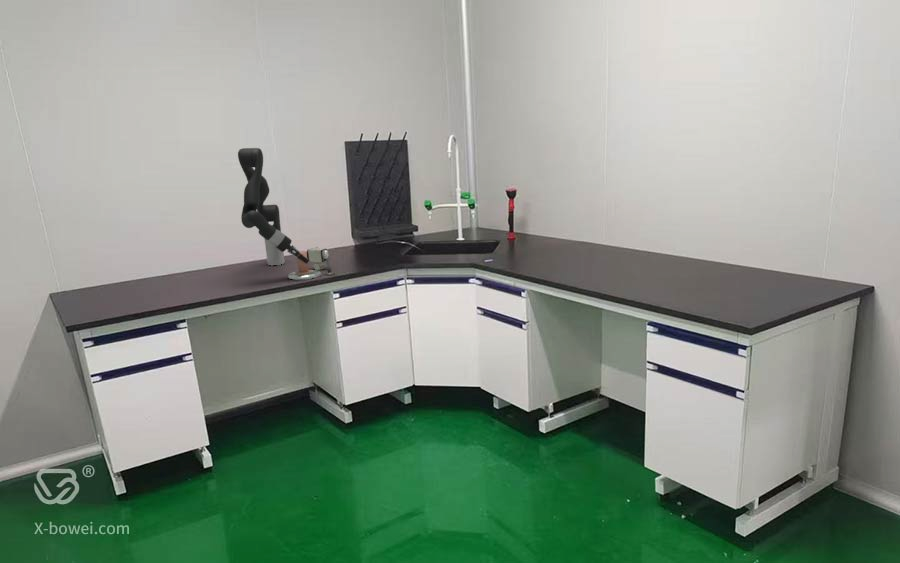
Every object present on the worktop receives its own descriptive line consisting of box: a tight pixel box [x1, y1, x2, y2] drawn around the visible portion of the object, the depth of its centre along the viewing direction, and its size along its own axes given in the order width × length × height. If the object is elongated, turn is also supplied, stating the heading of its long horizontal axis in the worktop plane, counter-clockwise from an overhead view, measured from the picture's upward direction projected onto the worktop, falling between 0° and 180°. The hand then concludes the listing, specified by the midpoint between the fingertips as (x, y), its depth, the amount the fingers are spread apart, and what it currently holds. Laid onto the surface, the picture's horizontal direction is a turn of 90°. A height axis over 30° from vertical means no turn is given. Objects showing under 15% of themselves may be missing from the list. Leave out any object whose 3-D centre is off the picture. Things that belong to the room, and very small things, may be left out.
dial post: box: [322, 249, 335, 276], centre depth 291 cm, size 4×4×13 cm
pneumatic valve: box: [306, 246, 328, 271], centre depth 303 cm, size 6×12×12 cm, turn 69°
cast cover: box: [295, 250, 313, 275], centre depth 288 cm, size 8×8×11 cm
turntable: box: [287, 269, 322, 281], centre depth 290 cm, size 16×16×2 cm
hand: (306, 260), depth 289 cm, fingers open, 6 cm apart
